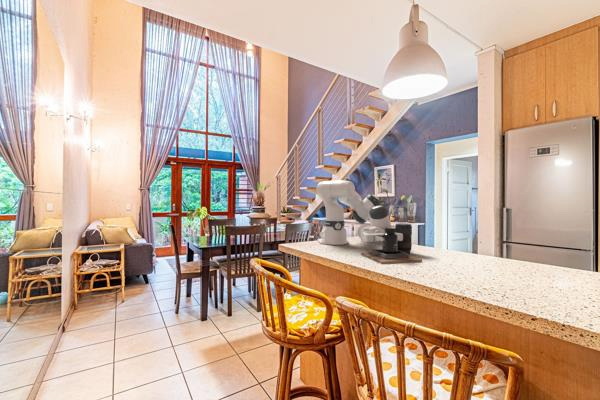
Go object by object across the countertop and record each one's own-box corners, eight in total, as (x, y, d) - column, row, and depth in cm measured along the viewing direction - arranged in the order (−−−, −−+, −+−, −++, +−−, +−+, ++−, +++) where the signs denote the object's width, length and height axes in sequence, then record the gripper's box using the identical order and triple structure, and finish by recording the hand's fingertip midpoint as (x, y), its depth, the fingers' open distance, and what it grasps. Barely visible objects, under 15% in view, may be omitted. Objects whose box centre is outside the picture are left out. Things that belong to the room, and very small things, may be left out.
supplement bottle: (398, 255, 129) (398, 229, 128) (382, 254, 130) (383, 228, 130) (396, 252, 135) (396, 227, 135) (381, 251, 137) (382, 227, 137)
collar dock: (360, 254, 140) (360, 248, 140) (396, 253, 145) (396, 247, 145) (381, 263, 120) (381, 256, 120) (422, 261, 125) (422, 255, 125)
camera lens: (391, 252, 148) (391, 223, 148) (403, 251, 151) (403, 223, 151) (403, 255, 140) (403, 224, 140) (415, 253, 144) (415, 224, 144)
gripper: (393, 240, 148) (410, 245, 134) (358, 242, 143) (371, 246, 129) (394, 228, 148) (410, 232, 134) (358, 229, 143) (371, 233, 129)
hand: (391, 239), depth 132 cm, fingers closed on supplement bottle, 7 cm apart
